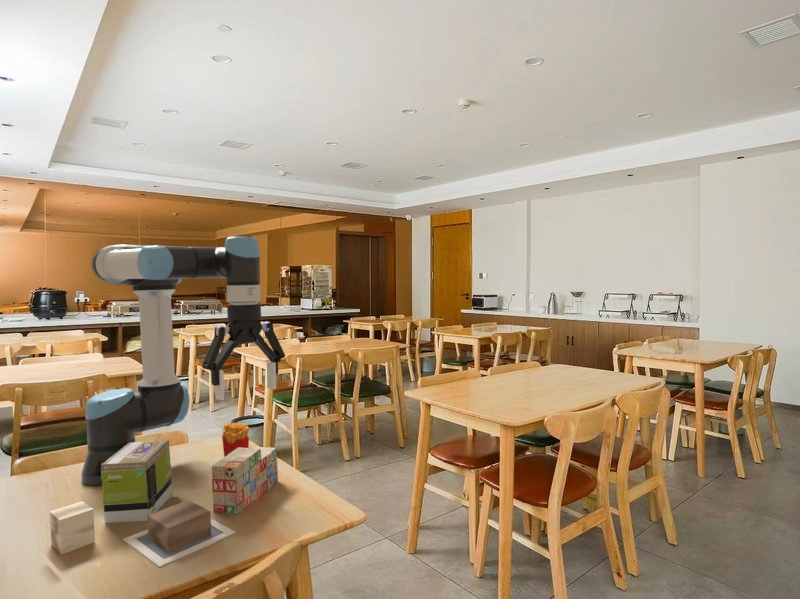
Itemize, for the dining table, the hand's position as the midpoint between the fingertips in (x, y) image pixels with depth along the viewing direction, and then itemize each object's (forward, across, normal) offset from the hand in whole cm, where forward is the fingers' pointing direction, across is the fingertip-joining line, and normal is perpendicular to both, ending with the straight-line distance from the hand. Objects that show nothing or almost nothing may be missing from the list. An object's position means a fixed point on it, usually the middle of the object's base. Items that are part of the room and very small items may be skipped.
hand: (246, 393), depth 120 cm
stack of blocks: (+28, +3, +6) cm, 29 cm away
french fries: (+28, +11, +25) cm, 39 cm away
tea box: (+28, -18, +19) cm, 38 cm away
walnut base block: (+26, -18, -2) cm, 32 cm away
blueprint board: (+28, -18, -2) cm, 33 cm away
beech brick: (+28, -34, +12) cm, 45 cm away
